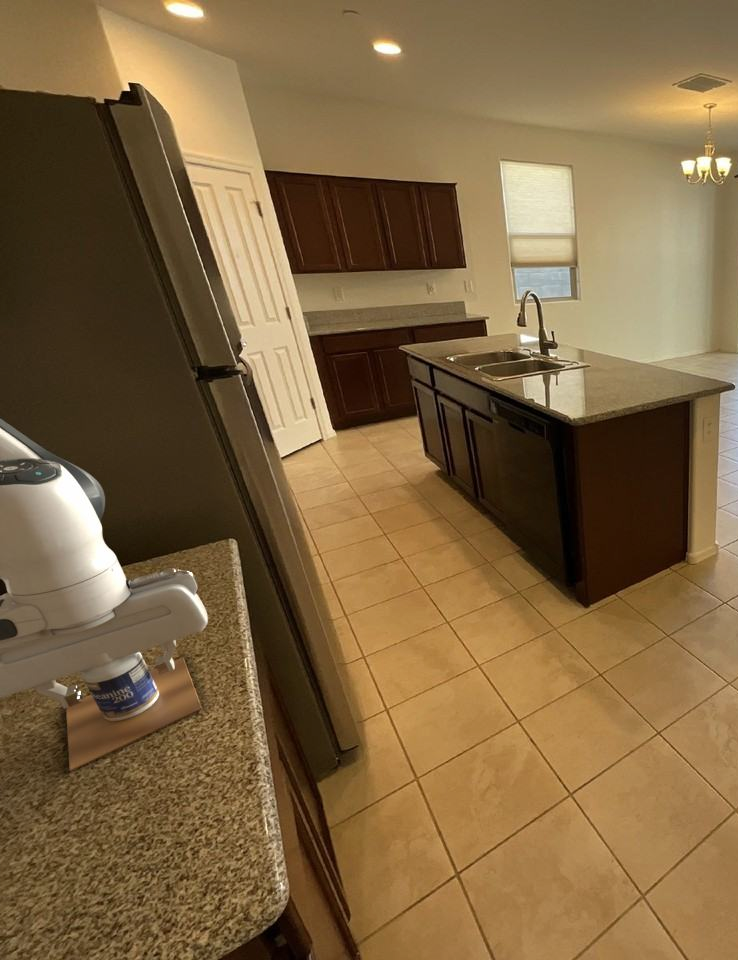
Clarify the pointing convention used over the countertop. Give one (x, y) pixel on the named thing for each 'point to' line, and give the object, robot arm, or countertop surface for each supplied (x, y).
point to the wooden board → (103, 736)
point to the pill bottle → (121, 686)
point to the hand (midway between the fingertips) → (122, 685)
